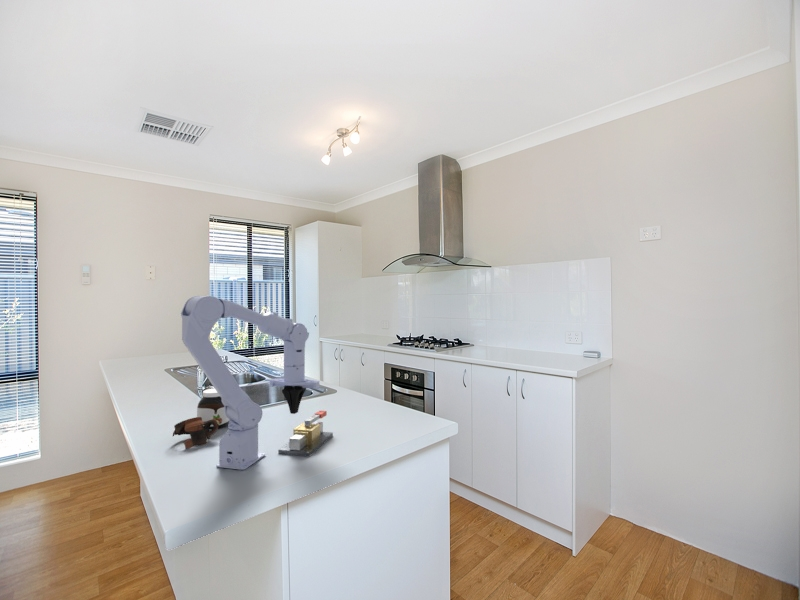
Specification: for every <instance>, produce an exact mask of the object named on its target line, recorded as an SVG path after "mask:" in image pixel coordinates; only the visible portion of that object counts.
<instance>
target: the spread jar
mask: <svg viewBox="0 0 800 600" xmlns="http://www.w3.org/2000/svg"><path fill="white" fill-rule="evenodd" d="M196 417H201V418H202V421H204V422H205V421H209V420H216V421H217V424H218V425H219V426H218V429H221V428H224V427H226V425H228V424H229V421H230V419H228V418H227V416H226V414H225V407H224V405H223V403H222V398H221V397H220V395H219V394H218V392H217V391H216V389H215V388H209V389H205V390H203V391H202V397H201V399H200V400H199V401H198V403H197V406H196ZM203 428H204V425H203ZM212 429H213V425H211V426H210V427H209V430H212Z"/></svg>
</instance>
